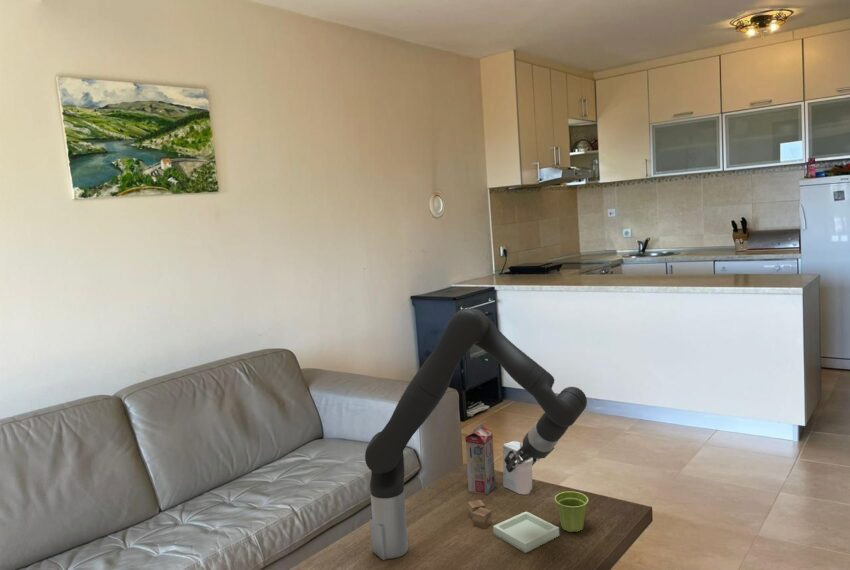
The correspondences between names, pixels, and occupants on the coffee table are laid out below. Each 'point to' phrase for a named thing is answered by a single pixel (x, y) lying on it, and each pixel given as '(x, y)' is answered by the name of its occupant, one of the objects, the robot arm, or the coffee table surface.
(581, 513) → the plant pot
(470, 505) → the walnut block
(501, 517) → the coffee table surface
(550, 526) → the dish
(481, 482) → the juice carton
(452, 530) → the coffee table surface
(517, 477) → the smoothie
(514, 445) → the skincare box
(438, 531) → the coffee table surface
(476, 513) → the walnut block
